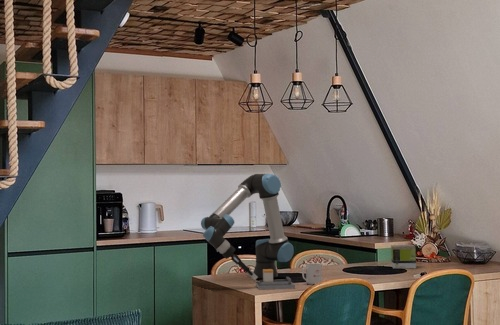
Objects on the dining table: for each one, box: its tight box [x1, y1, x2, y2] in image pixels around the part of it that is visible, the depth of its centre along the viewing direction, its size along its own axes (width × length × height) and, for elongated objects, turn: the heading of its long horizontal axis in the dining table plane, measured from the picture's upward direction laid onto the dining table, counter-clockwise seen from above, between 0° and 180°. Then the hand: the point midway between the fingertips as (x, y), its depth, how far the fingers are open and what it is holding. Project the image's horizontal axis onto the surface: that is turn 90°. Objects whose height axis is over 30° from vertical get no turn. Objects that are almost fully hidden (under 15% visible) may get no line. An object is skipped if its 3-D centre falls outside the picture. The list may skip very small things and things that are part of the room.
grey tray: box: [255, 276, 296, 291], centre depth 388 cm, size 20×13×5 cm, turn 97°
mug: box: [301, 263, 323, 286], centre depth 397 cm, size 12×9×11 cm
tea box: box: [390, 244, 417, 269], centre depth 458 cm, size 15×10×15 cm, turn 84°
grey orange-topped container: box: [262, 269, 274, 282], centre depth 388 cm, size 5×5×8 cm
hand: (256, 278), depth 387 cm, fingers closed
